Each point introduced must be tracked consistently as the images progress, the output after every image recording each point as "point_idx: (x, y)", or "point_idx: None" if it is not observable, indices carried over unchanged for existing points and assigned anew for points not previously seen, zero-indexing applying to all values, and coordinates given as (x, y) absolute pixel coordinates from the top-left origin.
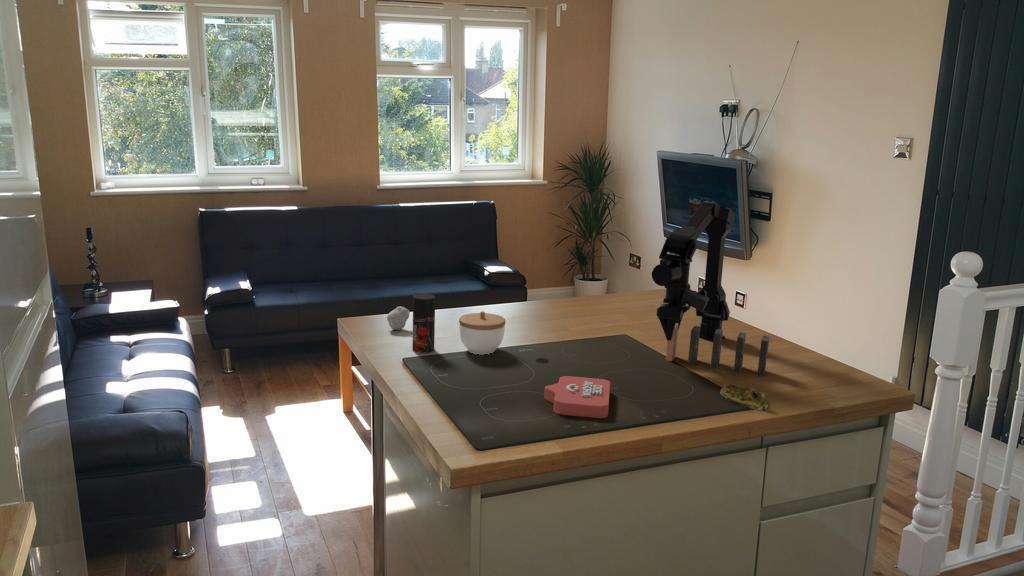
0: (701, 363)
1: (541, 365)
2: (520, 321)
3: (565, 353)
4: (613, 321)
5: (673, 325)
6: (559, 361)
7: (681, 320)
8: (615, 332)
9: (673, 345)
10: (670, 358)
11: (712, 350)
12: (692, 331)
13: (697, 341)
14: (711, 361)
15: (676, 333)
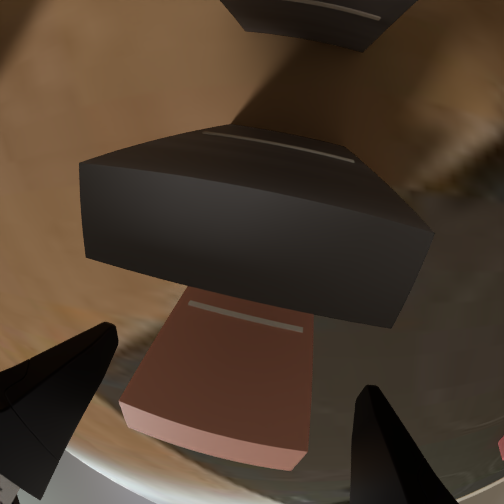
0: (294, 97)
1: None
2: (141, 478)
3: (305, 478)
4: None
5: (443, 497)
6: None
7: (33, 358)
8: None
9: (297, 322)
10: None
11: (394, 20)
12: (395, 298)
13: (283, 152)
14: (371, 41)
15: (201, 356)
